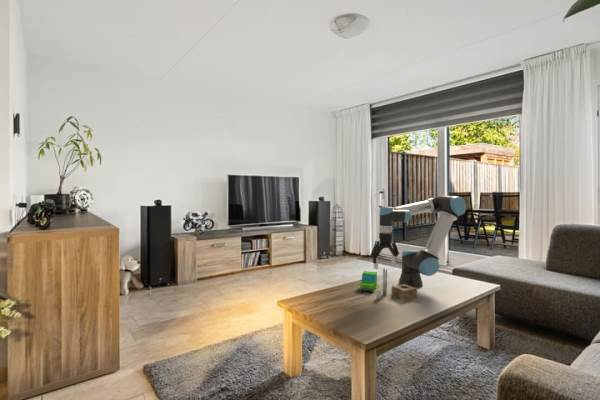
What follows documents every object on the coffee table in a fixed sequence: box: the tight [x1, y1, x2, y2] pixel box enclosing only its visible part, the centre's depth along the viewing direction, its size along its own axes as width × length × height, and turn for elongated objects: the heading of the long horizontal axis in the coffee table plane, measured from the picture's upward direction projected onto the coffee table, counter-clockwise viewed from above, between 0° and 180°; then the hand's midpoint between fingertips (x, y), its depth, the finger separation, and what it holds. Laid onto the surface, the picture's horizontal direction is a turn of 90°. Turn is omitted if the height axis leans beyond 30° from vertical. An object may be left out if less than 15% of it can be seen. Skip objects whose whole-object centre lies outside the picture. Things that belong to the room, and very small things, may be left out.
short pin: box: [375, 290, 382, 302], centre depth 195 cm, size 2×2×5 cm
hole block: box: [391, 284, 418, 302], centre depth 200 cm, size 10×10×6 cm
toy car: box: [359, 270, 378, 293], centre depth 214 cm, size 10×13×10 cm
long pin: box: [382, 268, 388, 297], centre depth 203 cm, size 2×2×16 cm
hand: (384, 267), depth 203 cm, fingers open, 13 cm apart
